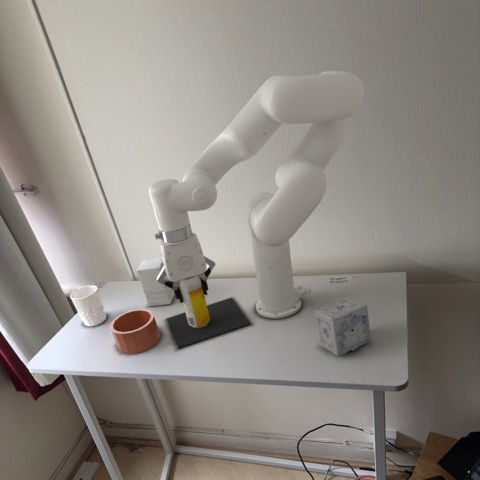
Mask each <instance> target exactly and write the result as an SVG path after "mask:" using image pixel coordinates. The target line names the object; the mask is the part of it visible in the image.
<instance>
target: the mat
mask: <svg viewBox="0 0 480 480" xmlns="http://www.w3.org/2000/svg"><path fill="white" fill-rule="evenodd" d="M207 308H208V312H209V316H210V320H209V322H208V324H207V325H206V326H204V327H201V328H193V327H192V326H190V325H189V324H188V320H187V317H186V313H185V312H182V313H179V314H176V315H173V316H170V317H167V318H166V321H167V324H168V326H169V329H170V331H171V334H172V336H173V339H174V342H175V343H176V346H177V349H179V350H180V349H183V348H186V347H189V346H192V345H195V344H197V343H200V342H201V343H202V342H204V341H206V340H209V339H212V338H216V337H218V336H221V335H224V334H227V333H231V332H232V331H236V330H239V329H242V328H245V327H247V326H250V325H251V322H250V321H249V319H248V318H247V316H245V314H244V313H243V311H242V310H241V309H240V307H239V306H238V304H237V303H236V302H235V300H234V299H233V298H232V297H229V298H226V299H223V300H220V301H217V302H214V303H211V304H207Z"/></svg>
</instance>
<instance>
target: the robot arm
mask: <svg viewBox="0 0 480 480" xmlns="http://www.w3.org/2000/svg"><path fill="white" fill-rule="evenodd" d="M364 96H365V90H364V84H363V83H362V81H361V79H360V78H359V77H358V76H357V75H356V74H354V73H352V72H349V71H342V70H341V71H340V70H326V71H323V72H320V73H318V74H311V75H286V74H276V75H272V76H270V77H269V78H268V79H267V80H265V81H264V82H263V84H261V85H260V87H259V88H258V89H257V90H256V92H255V93H254V94H253V95H252V97H251V98H250V99H249V100H248V101H247V103H245V105H244V106H243V107H242V108H241V110H240V111H239V112H238V113H237V115H235V117H234V118H233V119H232V121H231V122H229V124H228V125H227V126H226V128H224V130H222V131H221V132H220V134H218V135H217V137H215V139H214V140H212V141H211V143H209V145H208V146H207V147H206V148H205V149H204V150H203V151H202V152H201V154H199V156H198V157H197V158H196V159H195V161H194V162H193V163H192V164H191V166H190V167H189V168H188V169H187V171H186V172H185V174H184V176H183V178H182V181H179V180H177V179H175V178H166V179H161V180H157V181H155V182H153V183H151V184H150V185H149V188H148V194H149V198H150V202H151V205H152V208H153V213H154V216H155V219H156V223H157V227H158V232H156V233H154V238H155V240H160V242H159V243H160V245H159V246H160V254H161V258H162V260H163V264H164V267H163V268H162V270H161V272H160V274H159V275H158V277H157V281H158V282H159V283H161V284H163V285H165V286H167V287H169V288H171V289H173V290H174V294H175V295H174V297H175V299H176V301H177V300H179V303H180V304H183V299H182V296H181V292H180V289H179V288H178V281H180V280H184V279H187V278H190V277H194V276H197V275H199V276H200V279H201V283H202V288H203V292H204V296H208V291H209V285H208V279H209V276H210V275H211V273H212V270H214V268H215V266H216V262H215V260H212V259H211V258H209V257H207V256H205V255H204V252H203V248H202V245H201V243H200V242H201V241H200V240H199V238H198V236H197V234H196V233H195V232H193V230H192V225H191V221H190V217H189V212H201V211H206V210H209V209H210V208H212V207H213V206H214V205H215V203H216V202H217V199H218V191H217V190H218V189H217V187H216V185H217V184H218V183H219V182H220V181H221V179H222V178H223V177H224V176H225V175H226V174H227V173H228V172H229V171H230V170H231V169H233V167H235V166H237V165H238V164H239V163H242V162H245V161H248V160H250V159H252V158H253V157H255V156H257V154H258V153H259V152H260V151H261V149H263V147H264V146H265V145H266V143H267V142H268V141H269V140H270V139H271V138H272V137H273V136H274V134H275V133H276V132H277V131H278V130H279V128H281V126H282V125H283V124H284V125H298V124H300V125H301V124H308V125H307V128H306V129H305V131H304V133H303V134H302V136H301V137H300V138H299V140H298V141H297V143H296V144H295V146H294V147H293V148H292V149H291V151H290V152H289V153H288V155H287V156H286V157H285V158H284V159H283V161H282V162H281V164H279V166H278V168H277V170H276V172H275V176H274V178H275V179H274V181H275V185H276V187H277V188H278V189H277V191H276V192H275V193H272V192H269V191H261V192H258V193H256V194H255V195H253V196H252V197H251V198H250V199H249V200H248V202H247V204H246V208H245V221H246V226H247V231H248V235H249V238H250V244H251V250H252V255H253V263H254V269H255V275H256V281H257V287H258V293H259V299H258V300H257V301H256V303H255V310H256V313H257V314H259V315H260V316H261V317H264V318H267V319H284V318H287V317H290V316H292V315H294V314H296V313H297V312H298V311H299V310H300V309H301V307H302V299H301V298H302V296H305V295H309V294H311V293H312V288H311V286H309V285H308V286H305V287H303V285H302V284H300V285H297V286H295V284H294V275H293V265H292V257H291V249H290V248H291V246H290V239H291V238H292V237H293V236H294V235H295V234H296V233H297V232H298V231H299V229H300V228H301V227H302V226H303V224H304V223H305V222H306V221H307V220H308V219H309V217H310V216H311V215H312V214H313V212H314V211H315V210H316V209H317V207H318V206H319V205H320V203H321V202H322V200H323V198H324V197H325V194H326V191H327V186H328V181H327V180H328V179H327V176H326V174H325V172H324V170H325V169H326V167H327V166H328V164H329V163H330V162H331V160H332V159H333V157H334V156H335V155H336V153H337V152H338V150H339V149H340V147H341V145H342V143H343V140H344V138H345V134H346V128H347V119H348V118H350V117H352V116H353V115H354V114H356V113H357V111H358V110H359V109H360V107H361V105H362V104H363V101H364ZM166 274H167V277H168V279H169V280H170V281H169V280H166V279H164V277H165V276H166Z"/></svg>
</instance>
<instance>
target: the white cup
mask: <svg viewBox="0 0 480 480" xmlns="http://www.w3.org/2000/svg"><path fill="white" fill-rule="evenodd" d="M69 297H70V300H71V302H72V304H73V305H74V307H75V310H76V311H77V314H78V315H79V317H80V318H81V320H82V322H83V324H84V325H85V326H86V327H96V326H98V325H101V324H102V323H104V322H105V321H106V320H107V313H106V310H105V307H104V304H103V301H102V298H101V295H100V292H99V289H98V287H97V286H96V285H93V284H91V285H84V286H81V287H79V288H76V289H74V291H72V292H71V293H70V295H69Z"/></svg>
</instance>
